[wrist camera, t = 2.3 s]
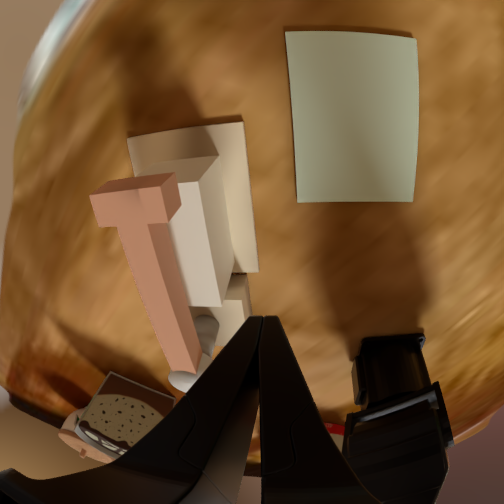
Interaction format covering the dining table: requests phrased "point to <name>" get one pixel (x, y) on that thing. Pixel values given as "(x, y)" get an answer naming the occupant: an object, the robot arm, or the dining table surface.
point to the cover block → (200, 229)
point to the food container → (121, 415)
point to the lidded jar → (76, 442)
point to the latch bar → (155, 264)
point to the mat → (354, 115)
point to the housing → (238, 207)
